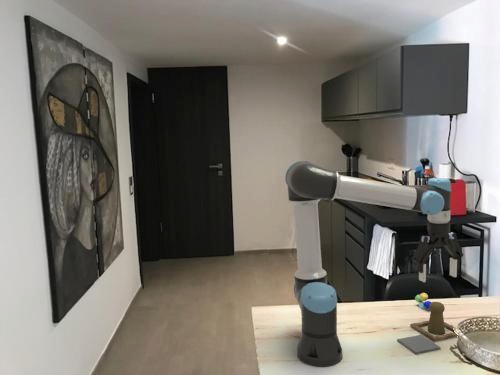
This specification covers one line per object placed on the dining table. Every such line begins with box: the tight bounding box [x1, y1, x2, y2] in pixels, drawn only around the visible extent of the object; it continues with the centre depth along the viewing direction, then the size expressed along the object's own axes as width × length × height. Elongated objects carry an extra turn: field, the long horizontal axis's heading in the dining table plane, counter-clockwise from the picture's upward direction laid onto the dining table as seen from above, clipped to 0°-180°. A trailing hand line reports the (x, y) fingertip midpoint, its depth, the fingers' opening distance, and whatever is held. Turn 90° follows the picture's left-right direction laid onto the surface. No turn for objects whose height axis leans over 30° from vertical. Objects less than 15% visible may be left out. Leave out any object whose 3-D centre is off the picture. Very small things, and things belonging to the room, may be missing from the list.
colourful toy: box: [414, 292, 431, 310], centre depth 184 cm, size 8×3×6 cm, turn 20°
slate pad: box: [396, 334, 442, 355], centre depth 153 cm, size 10×10×1 cm
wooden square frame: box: [409, 320, 458, 343], centre depth 163 cm, size 13×13×1 cm
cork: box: [427, 301, 446, 336], centre depth 162 cm, size 6×6×11 cm
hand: (437, 278), depth 160 cm, fingers open, 13 cm apart
